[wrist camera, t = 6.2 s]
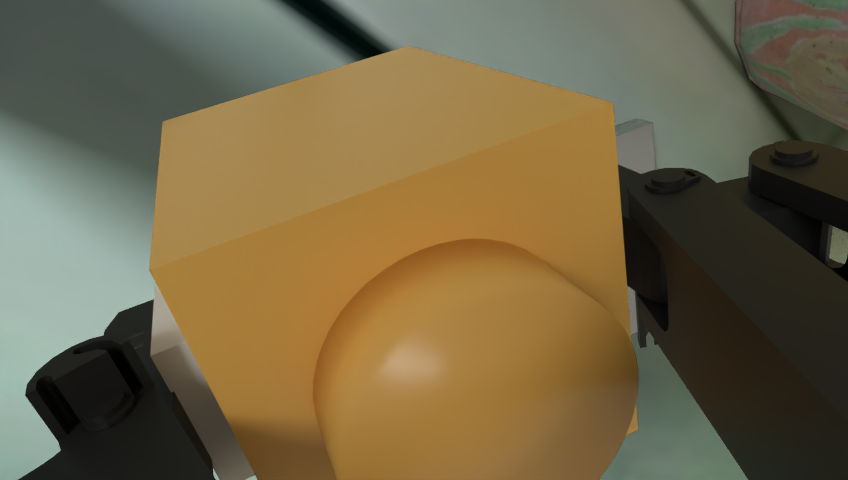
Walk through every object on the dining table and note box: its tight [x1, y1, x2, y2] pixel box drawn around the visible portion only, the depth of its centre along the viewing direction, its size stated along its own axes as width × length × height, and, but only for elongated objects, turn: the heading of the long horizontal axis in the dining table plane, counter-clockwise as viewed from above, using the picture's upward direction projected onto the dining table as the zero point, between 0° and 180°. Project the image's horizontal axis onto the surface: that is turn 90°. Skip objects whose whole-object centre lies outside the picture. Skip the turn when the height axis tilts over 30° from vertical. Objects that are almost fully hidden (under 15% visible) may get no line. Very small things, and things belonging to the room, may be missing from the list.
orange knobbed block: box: [149, 46, 638, 480], centre depth 11 cm, size 6×6×10 cm
